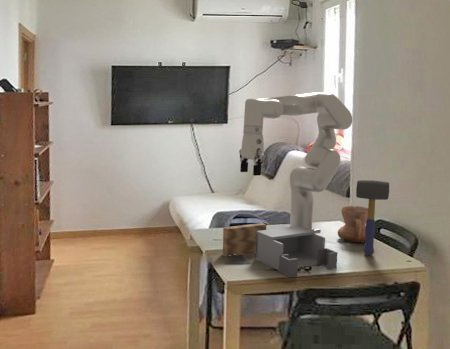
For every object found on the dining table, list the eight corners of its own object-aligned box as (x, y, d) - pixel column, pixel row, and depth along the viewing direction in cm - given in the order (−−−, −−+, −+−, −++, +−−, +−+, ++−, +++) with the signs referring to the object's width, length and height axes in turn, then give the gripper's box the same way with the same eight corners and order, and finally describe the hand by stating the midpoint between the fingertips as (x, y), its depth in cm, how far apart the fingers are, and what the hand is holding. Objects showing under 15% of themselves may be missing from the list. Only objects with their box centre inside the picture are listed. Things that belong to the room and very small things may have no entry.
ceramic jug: (335, 234, 255) (337, 203, 252) (368, 235, 253) (370, 204, 251) (339, 246, 237) (340, 213, 235) (374, 247, 236) (376, 214, 233)
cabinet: (299, 252, 225) (300, 225, 224) (336, 268, 206) (338, 238, 205) (253, 259, 215) (254, 231, 213) (288, 276, 196) (289, 246, 194)
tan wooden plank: (261, 249, 229) (262, 222, 227) (267, 252, 225) (268, 225, 223) (222, 254, 220) (223, 227, 218) (228, 257, 216) (228, 229, 215)
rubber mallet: (384, 254, 226) (389, 180, 221) (384, 259, 219) (390, 183, 214) (352, 251, 229) (357, 178, 224) (352, 256, 222) (356, 180, 217)
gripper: (273, 132, 216) (270, 176, 218) (249, 129, 231) (247, 170, 233) (256, 131, 212) (253, 176, 214) (233, 128, 227) (231, 170, 229)
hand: (250, 173), depth 224 cm, fingers open, 9 cm apart
